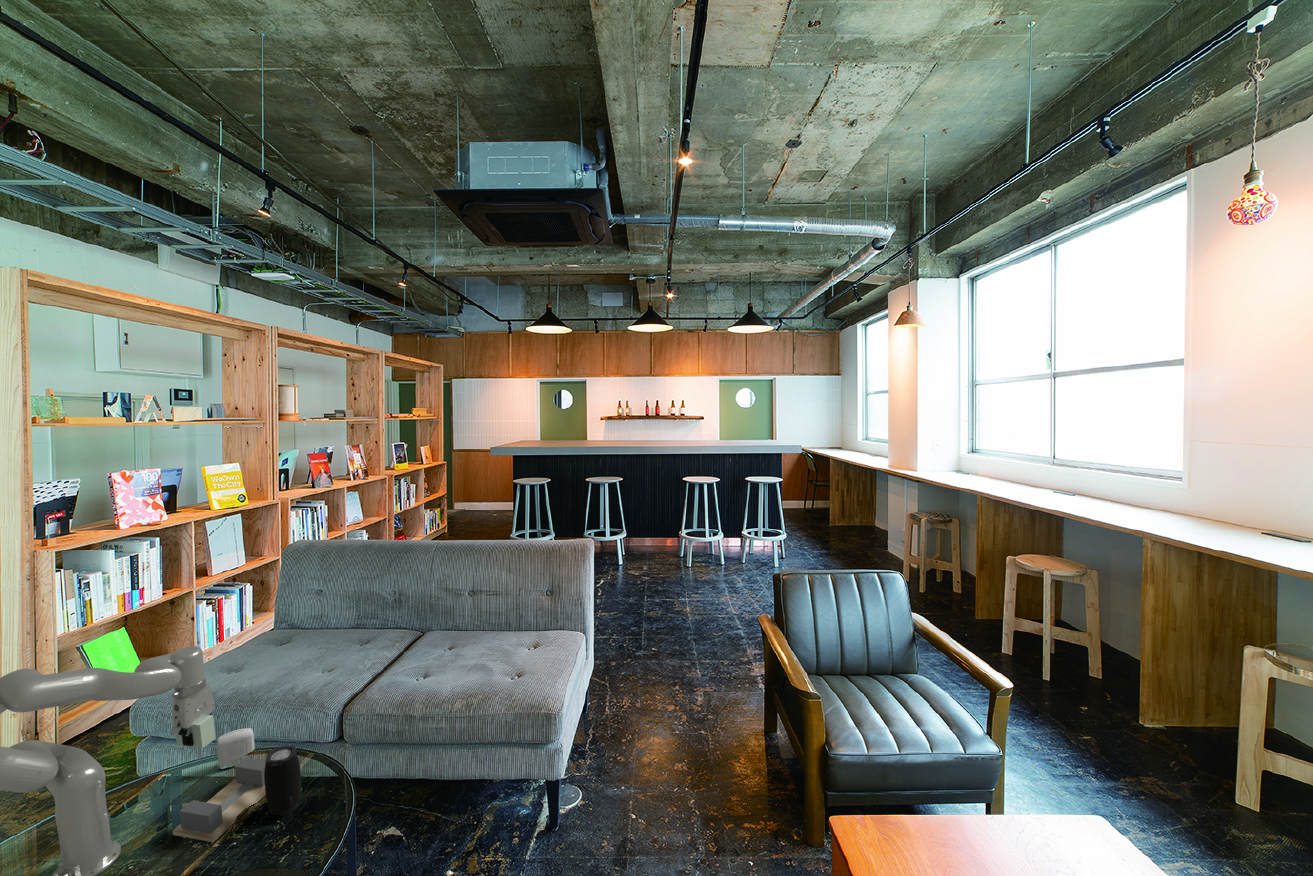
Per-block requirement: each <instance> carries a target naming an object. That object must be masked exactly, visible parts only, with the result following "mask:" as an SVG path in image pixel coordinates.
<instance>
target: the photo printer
mask: <svg viewBox="0 0 1313 876" xmlns="http://www.w3.org/2000/svg"><path fill="white" fill-rule="evenodd" d="M255 747H256V746H255V734H254V730H253V728H252V727H251V728H250V727H248V728H247V727H246V728H245V727H244V728H240V729H239V728H238V729H235V730H231V731H229V732H226V733H225V734H223V735H221V736H220V735H219V737H218V740H217V742H216V750H217V751H216V752H217V761H218V762H217V763H218V767H219V766H220V768H222V767H224V766H226V765H228V764H229V763H231V762H233V761H234V760H236V759H238V758H241V757H243V756H244V755H246V754H248V753H250V752H252V751H253V750H254V749H255V750H256V748H255Z"/></svg>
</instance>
